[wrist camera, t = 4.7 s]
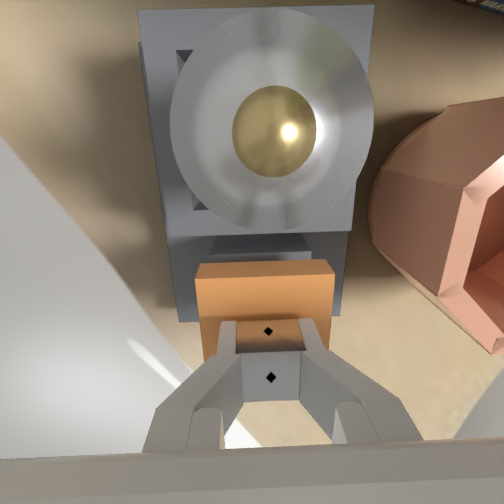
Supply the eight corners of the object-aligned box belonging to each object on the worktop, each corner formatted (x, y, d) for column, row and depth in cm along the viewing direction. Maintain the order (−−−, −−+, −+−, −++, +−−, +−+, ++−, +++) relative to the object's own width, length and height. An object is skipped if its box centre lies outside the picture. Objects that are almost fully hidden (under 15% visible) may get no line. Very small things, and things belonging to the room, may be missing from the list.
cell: (211, 90, 12) (146, -2, 4) (298, 87, 12) (401, -8, 4) (217, 179, 13) (178, 240, 5) (295, 176, 13) (369, 233, 5)
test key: (210, 232, 13) (194, 279, 9) (305, 229, 13) (335, 273, 9) (217, 313, 15) (206, 385, 11) (302, 310, 15) (325, 380, 11)
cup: (379, 109, 14) (487, 86, 8) (567, 103, 14) (821, 76, 8) (358, 279, 17) (421, 357, 11) (509, 273, 17) (654, 348, 11)
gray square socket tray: (149, 53, 13) (102, 10, 8) (354, 47, 13) (408, 3, 8) (184, 307, 17) (165, 361, 13) (331, 301, 17) (359, 353, 13)
